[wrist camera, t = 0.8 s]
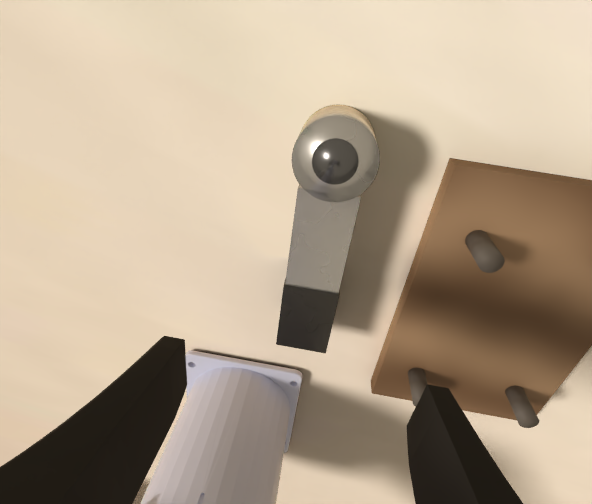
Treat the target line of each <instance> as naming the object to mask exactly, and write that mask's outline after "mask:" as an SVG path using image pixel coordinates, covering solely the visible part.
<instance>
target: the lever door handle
mask: <svg viewBox="0 0 592 504" xmlns="http://www.w3.org/2000/svg"><path fill="white" fill-rule="evenodd" d="M379 163H380V154H379V148H378V144H377V141H376V137H375V134H374V130H373V128H372V125H371V123H370V122H369V120H368V119H367V118H366V116H365V115H364V114H363V113H361V112H360V111H359V110H357V109H355V108H353V107H350V106H346V105H330V106H327V107H324V108H322V109H320V110H318V111H316V112H315V113H314V114H313V115H312V116H310V118H309V119H308V120H307V121H306V123H305V124H304V126H303V128H302V130H301V132H300V134H299V136H298V139H297V141H296V143H295V145H294V148H293V153H292V167H293V172H294V175H295V177H296V179H297V181H298V183H299V186H298V192H297V199H296V207H295V214H294V222H293V229H292V237H291V245H290V252H289V260H288V267H287V275H286V279H285V283H284V288H283V296H282V304H281V311H280V319H279V327H278V334H277V342H276V344H277V345H283V346H288V347H294V348H299V349H305V350H310V351H316V352H321V353H326V349H327V345H328V341H329V337H330V333H331V328H332V324H333V320H334V316H335V312H336V307H337V303H338V299H339V291H340V285H341V281H342V276H343V272H344V268H345V264H346V259H347V255H348V251H349V247H350V242H351V238H352V234H353V230H354V225H355V221H356V217H357V213H358V208H359V204H360V200H361V194H362V193H363V192H364V191H365V190H366V189H367V188H368V187H369V186H370V185H371V184H372V182H373V180H374V179H375V177H376V175H377V172H378V169H379Z"/></svg>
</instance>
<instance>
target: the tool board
mask: <svg viewBox="0 0 592 504" xmlns="http://www.w3.org/2000/svg"><path fill="white" fill-rule="evenodd" d="M591 346H592V180H586V179H579V178H573V177H566V176H560V175H554V174H547V173H541V172H534V171H528V170H522V169H515V168H509V167H503V166H496V165H490V164H483V163H477V162H471V161H464V160H458V159H451V158H450V159H449V162H448V165H447V167H446V170H445V173H444V176H443V179H442V182H441V184H440V187H439V190H438V193H437V196H436V198H435V201H434V204H433V207H432V210H431V213H430V215H429V218H428V221H427V224H426V227H425V229H424V232H423V235H422V238H421V241H420V244H419V246H418V249H417V252H416V255H415V258H414V260H413V263H412V266H411V269H410V272H409V275H408V277H407V280H406V283H405V286H404V289H403V291H402V294H401V297H400V300H399V303H398V306H397V308H396V311H395V314H394V317H393V320H392V322H391V325H390V328H389V331H388V334H387V337H386V339H385V342H384V345H383V348H382V351H381V353H380V356H379V359H378V362H377V365H376V368H375V370H374V373H373V376H372V379H371V389H372V393H373V394H379V395H384V396H389V397H395V398H400V399H405V400H411V401H413V404H414V406H417V404H418V402H419V400H420V398H421V396H422V394H423V392H424V389H425V387H426V385H427V384H429V385H434V386H440V387H445V388H449V390H450V391H451V393H452V394H453V396H454V398H455V399H456V401H457V403H458V404H459V406H460V408H461V409H462V410H465V411H470V412H475V413H481V414H486V415H491V416H497V417H502V418H508V419H513V420H517V421H518V423H519V425H520V426H522V427H525V428H531V427H534V426H536V425H538V423H539V419H538V417H537V414H538V413H539V411H540V410H541V409H542V408H543V406H544V405H545V404H546V402H547V401H548V400H549V399H550V397H551V396H552V395H553V394H554V392H555V391H556V390H557V389H558V387H559V386H560V385H561V383H562V382H563V381H564V380H565V378H566V377H567V376H568V375H569V373H570V372H571V371H572V370H573V368H574V367H575V366H576V364H577V363H578V362H579V361H580V359H581V358H582V357H583V356H584V354H585V353H586V352H587V351H588V349H589V348H590V347H591Z"/></svg>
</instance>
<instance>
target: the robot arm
mask: <svg viewBox="0 0 592 504" xmlns="http://www.w3.org/2000/svg"><path fill="white" fill-rule="evenodd" d="M294 381H295V382H294ZM301 382H302V373H301V372H300V371H299V370H296V369H290V368H285V367H279V366H274V365H269V364H263V363H258V362H252V361H247V360H242V359H236V358H231V357H225V356H220V355H214V354H209V353H204V352H198V351H188V352H187V353H186V355H185V340H184V339H179V338H173V337H168V336H164V337H162V338H161V339H160V340H159V341H158V342H157V343H156V344H155V345H154V346H152V347H151V348H150V349H149V350H148V351H147V352H146V353H145V354H144V355H143V356H142V357H141V358H140V359H139V360H137V361H136V362H135V363H134V364H133V365H132V366H131V367H130V368H129V369H128V370H126V371H125V372H124V373H123V374H122V375H121V376H120V377H118V378H117V379H116V380H115V381H114V382H113V383H111V384H110V385H109V386H108V387H107V388H106V389H105V390H103V391H102V392H101V393H100V394H99V395H97V396H96V397H95V398H94V399H93V400H91V401H90V402H89V403H88V404H86V405H85V406H84V407H83V408H81V409H80V410H79V411H78V412H76V413H75V414H74V415H72V416H71V417H70V418H69V419H67V420H66V421H65V422H64V423H62V424H61V425H60V426H58V427H57V428H56V429H54V430H53V431H52V432H50V433H49V434H47V435H46V436H45V437H43V438H42V439H41V440H39V441H38V442H36V443H35V444H33V445H32V446H31V447H29V448H28V449H26V450H25V451H24V452H22V453H21V454H19V455H18V456H16V457H15V458H13V459H12V460H10V461H9V462H7V463H6V464H4V465H3V466H1V467H0V504H132V503H133V501H134V499H135V497H136V495H137V493H138V491H139V489H140V487H141V485H142V483H143V481H144V479H145V477H146V475H147V473H148V471H149V469H150V467H151V465H152V463H153V461H154V459H155V457H156V455H157V453H158V451H159V449H160V447H161V445H162V443H163V441H164V439H165V437H166V435H167V433H168V431H169V429H170V427H171V425H172V423H173V421H174V419H175V416H176V414H177V411H178V408H179V406H180V403H181V400H182V398H183V395H184V392H185V389H187V400H186V402H185V404H184V406H183V409H182V411H181V413H180V415H179V418H178V420H177V422H176V424H175V427H174V429H173V431H172V433H171V436H170V438H169V440H168V442H167V445H166V447H165V449H164V451H163V453H162V456H161V458H160V460H159V462H158V465H157V467H156V469H155V471H154V474H153V476H152V478H151V480H150V483H149V485H148V487H147V489H146V492H145V494H144V496H143V498H142V501H141V503H140V504H276V499H277V493H278V486H279V480H280V473H281V467H282V460H283V454H284V453H286V452H287V451H288V448H289V443H290V438H291V433H292V428H293V423H294V418H295V413H296V408H297V403H298V398H299V393H300V388H301ZM407 441H408V457H409V467H410V473H411V479H412V485H413V491H414V497H415V503H416V504H523V503H522V501H521V500H520V498H519V497H518V496H517V494H516V493H515V491H514V490H513V488H512V487H511V486H510V484H509V483H508V481H507V480H506V478H505V477H504V475H503V474H502V472H501V471H500V469H499V468H498V466H497V465H496V463H495V462H494V460H493V459H492V457H491V456H490V454H489V453H488V451H487V449H486V448H485V446H484V445H483V443H482V442H481V440H480V438H479V437H478V435H477V434H476V432H475V430H474V429H473V427H472V426H471V424H470V422H469V421H468V419H467V417H466V416H465V414H464V412H463V411H462V409H461V408H460V406H459V404H458V403H457V401H456V399H455V398H454V396H453V394H452V393H451V391H450V390H449V388H445V387H440V386H434V385H429V384H427V385H426V387H425V389H424V392H423V394H422V396H421V398H420V400H419V402H418V404H417V406H416V408H415V410H414V412H413V414H412V416H411V418H410V420H409V422H408V424H407Z"/></svg>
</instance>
